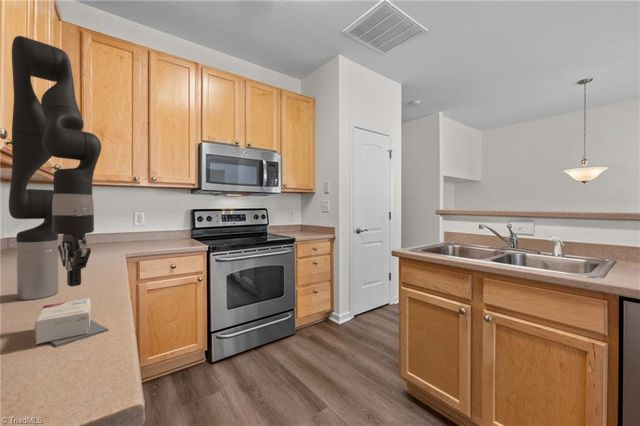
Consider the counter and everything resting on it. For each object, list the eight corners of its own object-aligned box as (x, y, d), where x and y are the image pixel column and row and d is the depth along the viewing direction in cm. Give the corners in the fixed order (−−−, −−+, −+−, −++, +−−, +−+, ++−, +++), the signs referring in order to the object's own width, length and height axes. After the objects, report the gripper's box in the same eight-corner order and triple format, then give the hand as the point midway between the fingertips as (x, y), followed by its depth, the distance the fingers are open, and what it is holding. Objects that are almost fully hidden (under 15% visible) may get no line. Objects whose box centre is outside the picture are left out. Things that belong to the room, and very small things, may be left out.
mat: (36, 332, 63) (36, 330, 63) (86, 319, 71) (86, 317, 71) (56, 346, 57) (56, 344, 57) (108, 330, 65) (108, 328, 65)
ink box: (44, 326, 66) (33, 345, 57) (43, 305, 66) (32, 321, 56) (91, 317, 71) (89, 333, 62) (90, 297, 71) (88, 311, 62)
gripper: (43, 213, 68) (44, 285, 69) (63, 214, 61) (64, 294, 62) (82, 213, 75) (82, 278, 75) (104, 213, 68) (104, 286, 68)
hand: (74, 285), depth 68 cm, fingers closed
